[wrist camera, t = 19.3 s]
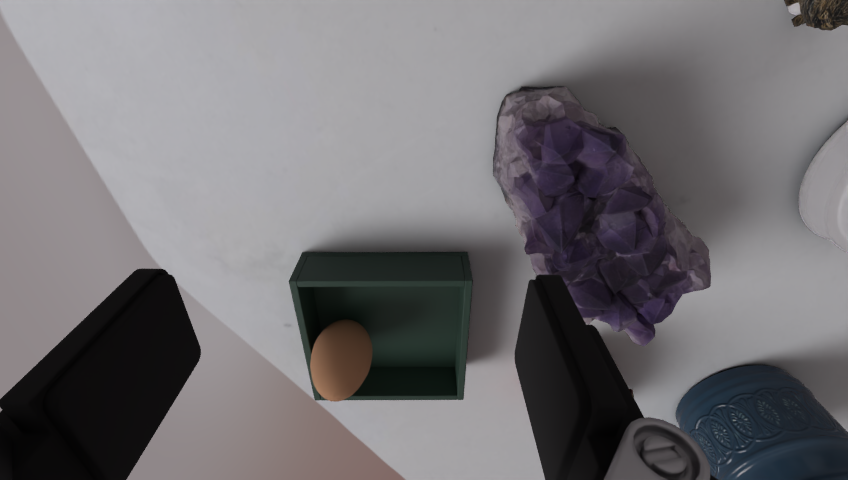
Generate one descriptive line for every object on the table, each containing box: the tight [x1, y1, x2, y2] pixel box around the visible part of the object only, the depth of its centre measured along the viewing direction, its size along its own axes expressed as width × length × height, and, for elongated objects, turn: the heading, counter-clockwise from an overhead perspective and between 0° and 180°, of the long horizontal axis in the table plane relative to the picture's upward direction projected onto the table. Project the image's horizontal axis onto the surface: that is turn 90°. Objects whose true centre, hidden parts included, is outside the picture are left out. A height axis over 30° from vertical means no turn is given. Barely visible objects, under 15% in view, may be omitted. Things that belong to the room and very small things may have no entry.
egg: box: [310, 319, 373, 401], centre depth 34 cm, size 5×5×8 cm
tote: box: [289, 252, 473, 400], centre depth 36 cm, size 14×14×4 cm
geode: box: [493, 86, 711, 346], centre depth 28 cm, size 20×12×10 cm, turn 39°
